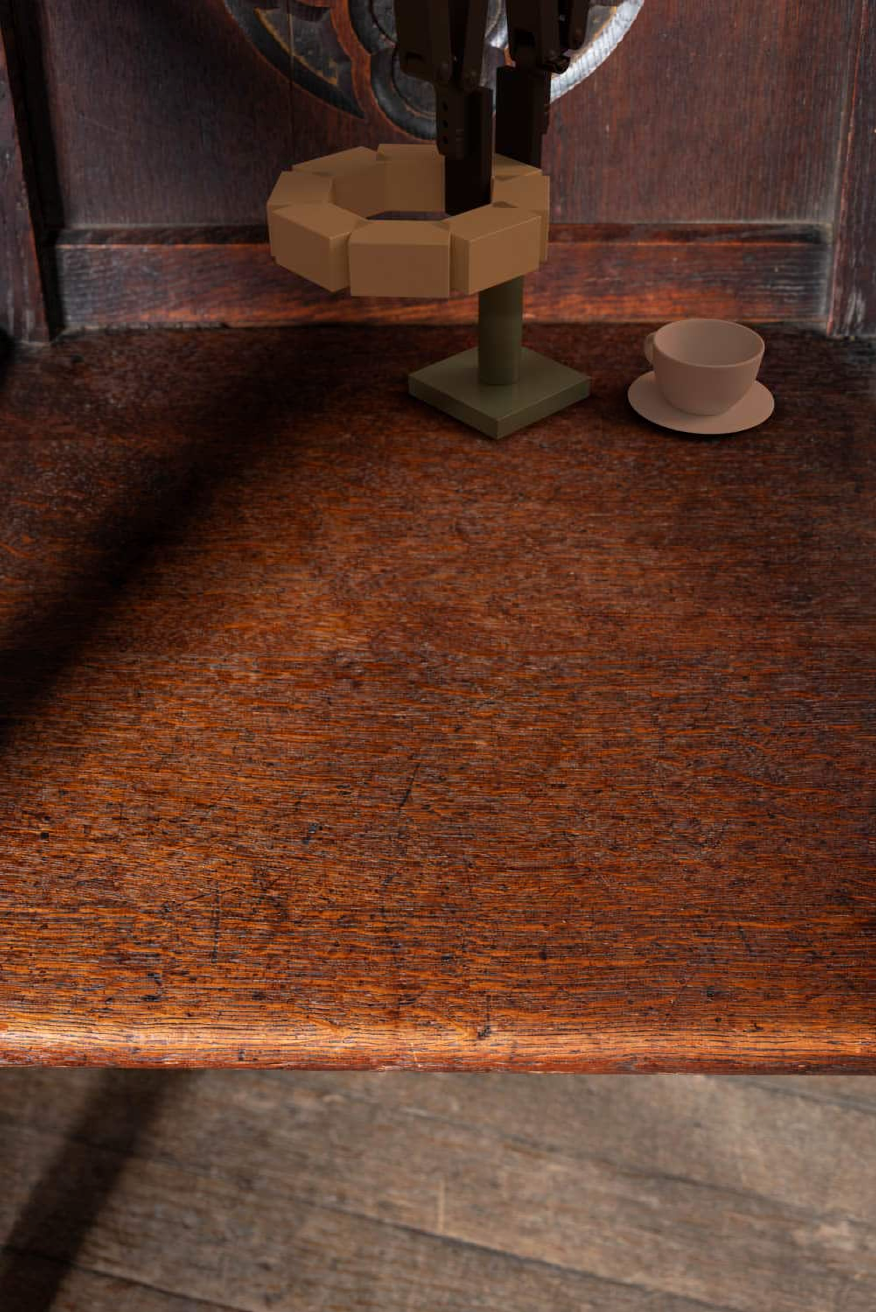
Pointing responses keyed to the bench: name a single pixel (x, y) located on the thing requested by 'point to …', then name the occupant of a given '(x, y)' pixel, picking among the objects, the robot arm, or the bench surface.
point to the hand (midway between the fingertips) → (492, 209)
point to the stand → (499, 372)
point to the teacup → (703, 378)
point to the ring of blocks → (405, 224)
